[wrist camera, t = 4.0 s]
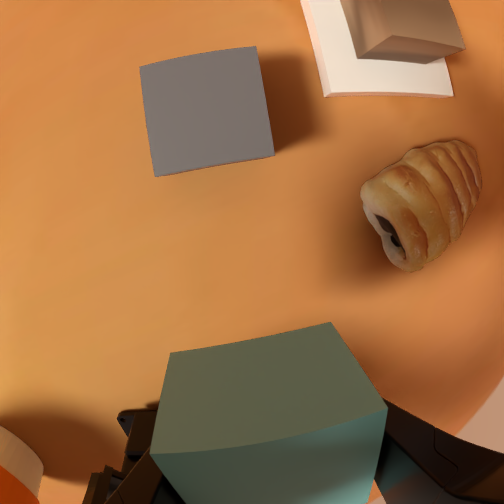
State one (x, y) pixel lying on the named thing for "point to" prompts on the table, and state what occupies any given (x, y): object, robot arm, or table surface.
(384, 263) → the table surface
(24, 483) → the reusable coffee cup
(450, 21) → the walnut brick
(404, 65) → the base plate
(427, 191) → the pastry
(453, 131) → the table surface
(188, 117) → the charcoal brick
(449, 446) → the robot arm
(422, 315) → the table surface
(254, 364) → the teal brick
